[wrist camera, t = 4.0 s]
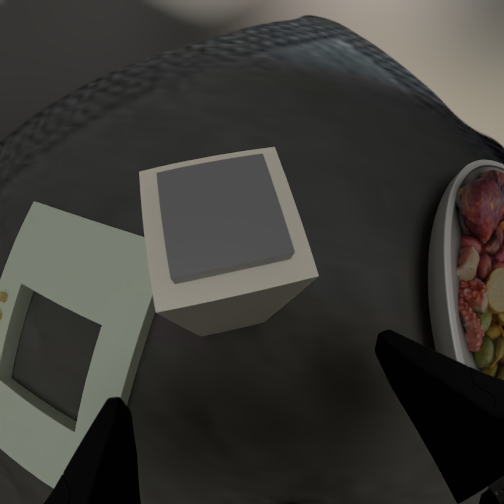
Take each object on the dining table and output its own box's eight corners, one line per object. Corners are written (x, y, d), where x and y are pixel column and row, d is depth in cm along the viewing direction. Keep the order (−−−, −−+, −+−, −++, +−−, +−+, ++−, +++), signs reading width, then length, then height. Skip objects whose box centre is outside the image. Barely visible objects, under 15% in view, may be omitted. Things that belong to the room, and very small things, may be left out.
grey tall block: (263, 322, 20) (325, 270, 7) (201, 336, 20) (149, 309, 7) (246, 255, 22) (271, 122, 9) (186, 267, 21) (134, 146, 8)
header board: (105, 503, 14) (91, 519, 11) (-14, 421, 14) (-34, 424, 11) (175, 255, 21) (167, 239, 18) (44, 211, 22) (27, 194, 19)
